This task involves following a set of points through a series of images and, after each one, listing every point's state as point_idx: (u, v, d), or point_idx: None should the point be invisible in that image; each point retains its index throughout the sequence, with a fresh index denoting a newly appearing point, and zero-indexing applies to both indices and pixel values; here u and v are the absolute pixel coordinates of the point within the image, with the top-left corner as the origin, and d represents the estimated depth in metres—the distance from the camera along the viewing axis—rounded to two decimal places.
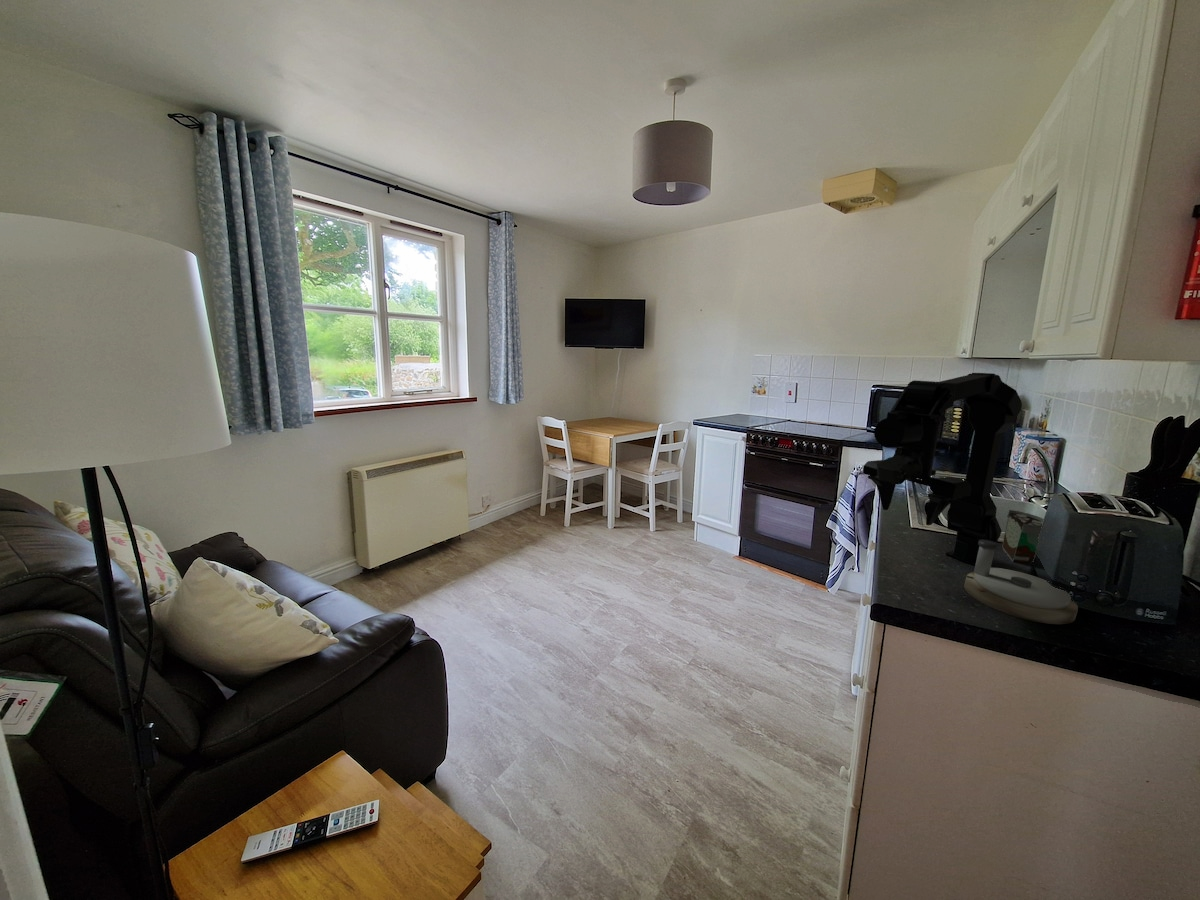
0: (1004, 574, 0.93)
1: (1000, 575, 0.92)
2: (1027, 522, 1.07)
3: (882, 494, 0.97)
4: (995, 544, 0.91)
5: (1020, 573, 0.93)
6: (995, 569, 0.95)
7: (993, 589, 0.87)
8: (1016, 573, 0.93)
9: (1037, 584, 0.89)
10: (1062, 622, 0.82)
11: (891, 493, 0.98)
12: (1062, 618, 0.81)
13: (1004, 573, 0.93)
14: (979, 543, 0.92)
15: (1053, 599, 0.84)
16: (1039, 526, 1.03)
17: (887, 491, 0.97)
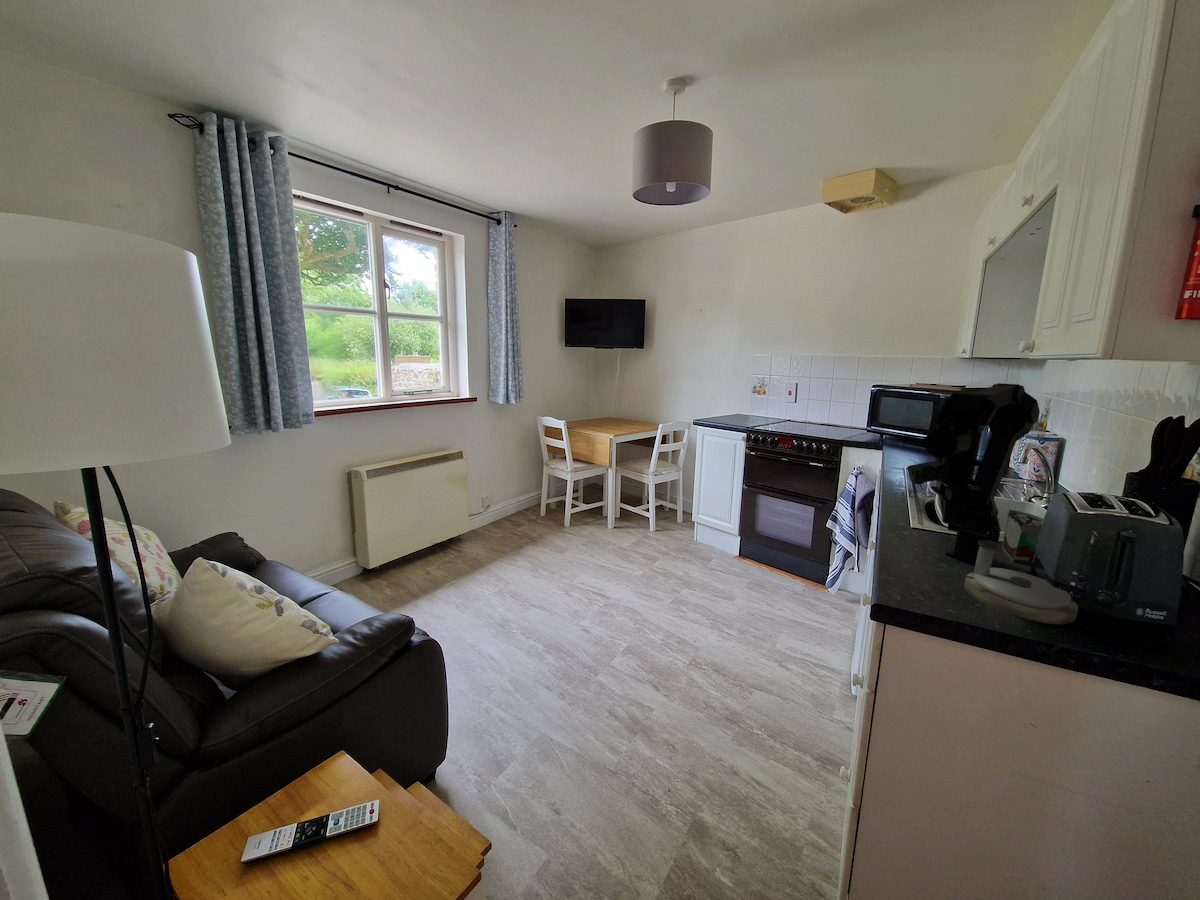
0: (1004, 574, 0.93)
1: (1000, 575, 0.92)
2: (1027, 522, 1.07)
3: (941, 506, 0.97)
4: (995, 544, 0.91)
5: (1020, 573, 0.93)
6: (995, 569, 0.95)
7: (993, 589, 0.87)
8: (1016, 573, 0.93)
9: (1037, 584, 0.89)
10: (1062, 622, 0.82)
11: None
12: (1062, 618, 0.81)
13: (1004, 573, 0.93)
14: (979, 543, 0.92)
15: (1053, 599, 0.84)
16: (1039, 526, 1.03)
17: None
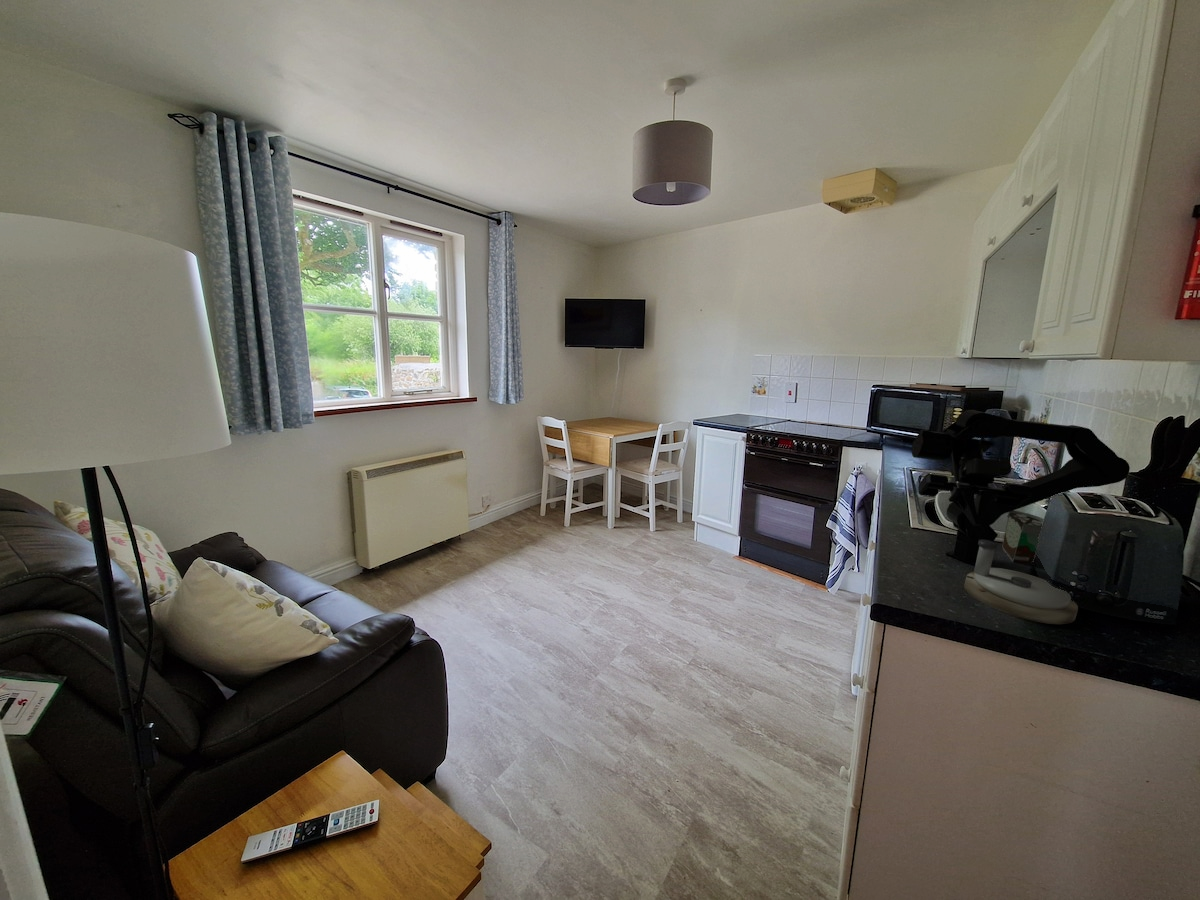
0: (1004, 574, 0.93)
1: (1000, 575, 0.92)
2: (1027, 522, 1.07)
3: (974, 507, 0.96)
4: (995, 544, 0.91)
5: (1020, 573, 0.93)
6: (995, 569, 0.95)
7: (993, 589, 0.87)
8: (1016, 573, 0.93)
9: (1037, 584, 0.89)
10: (1062, 622, 0.82)
11: None
12: (1062, 618, 0.81)
13: (1004, 573, 0.93)
14: (979, 543, 0.92)
15: (1053, 599, 0.84)
16: (1039, 526, 1.03)
17: None
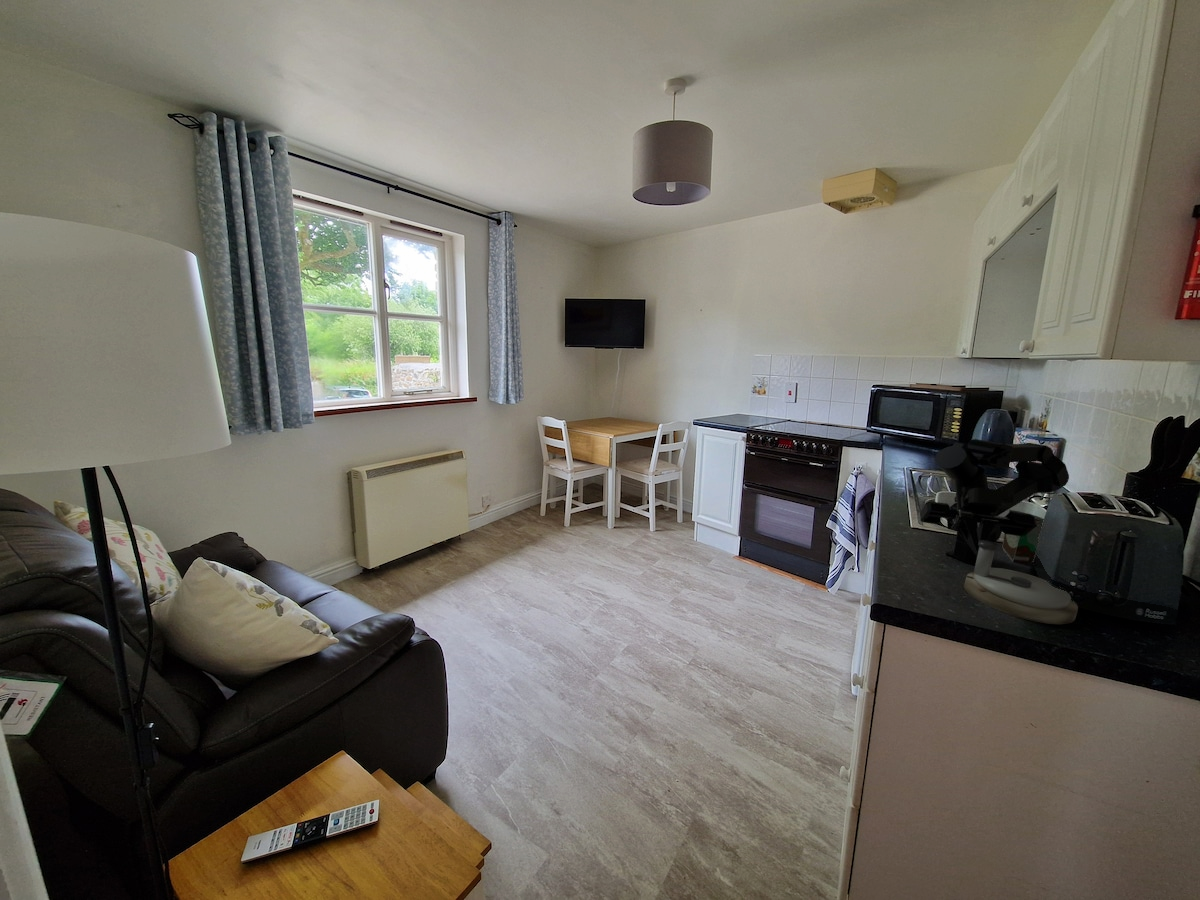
0: (1003, 574, 0.93)
1: (999, 575, 0.92)
2: None
3: (976, 537, 0.94)
4: (995, 544, 0.90)
5: (1017, 572, 0.94)
6: (993, 569, 0.95)
7: (995, 590, 0.87)
8: (1014, 573, 0.94)
9: (1036, 583, 0.89)
10: (1062, 622, 0.82)
11: None
12: (1062, 618, 0.81)
13: (1003, 573, 0.93)
14: (979, 544, 0.91)
15: (1054, 598, 0.84)
16: (1039, 526, 1.03)
17: None
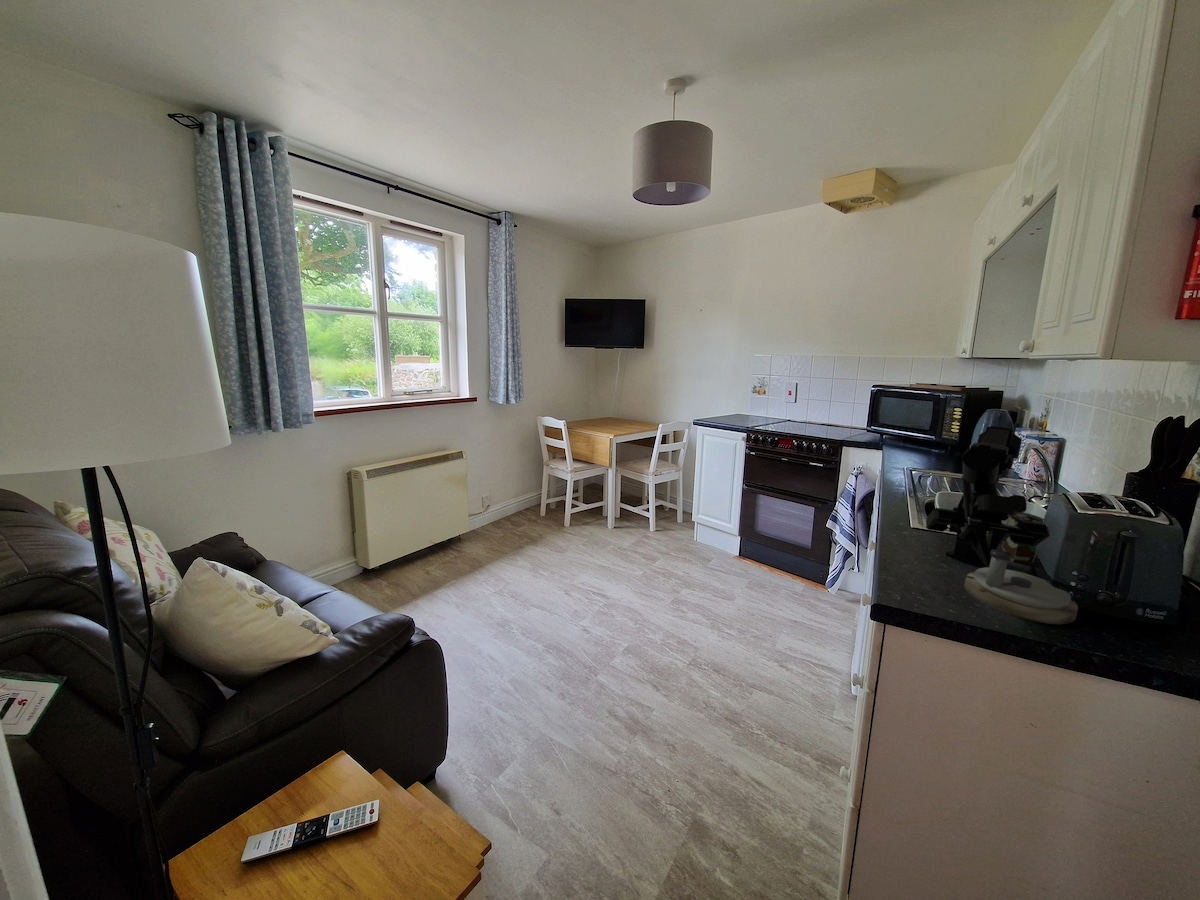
0: None
1: None
2: None
3: (986, 546, 0.90)
4: (1007, 552, 0.87)
5: None
6: (980, 573, 0.93)
7: (1034, 602, 0.83)
8: None
9: (1018, 577, 0.92)
10: (1062, 622, 0.82)
11: None
12: (1062, 618, 0.81)
13: None
14: (998, 556, 0.86)
15: (1059, 591, 0.86)
16: None
17: None
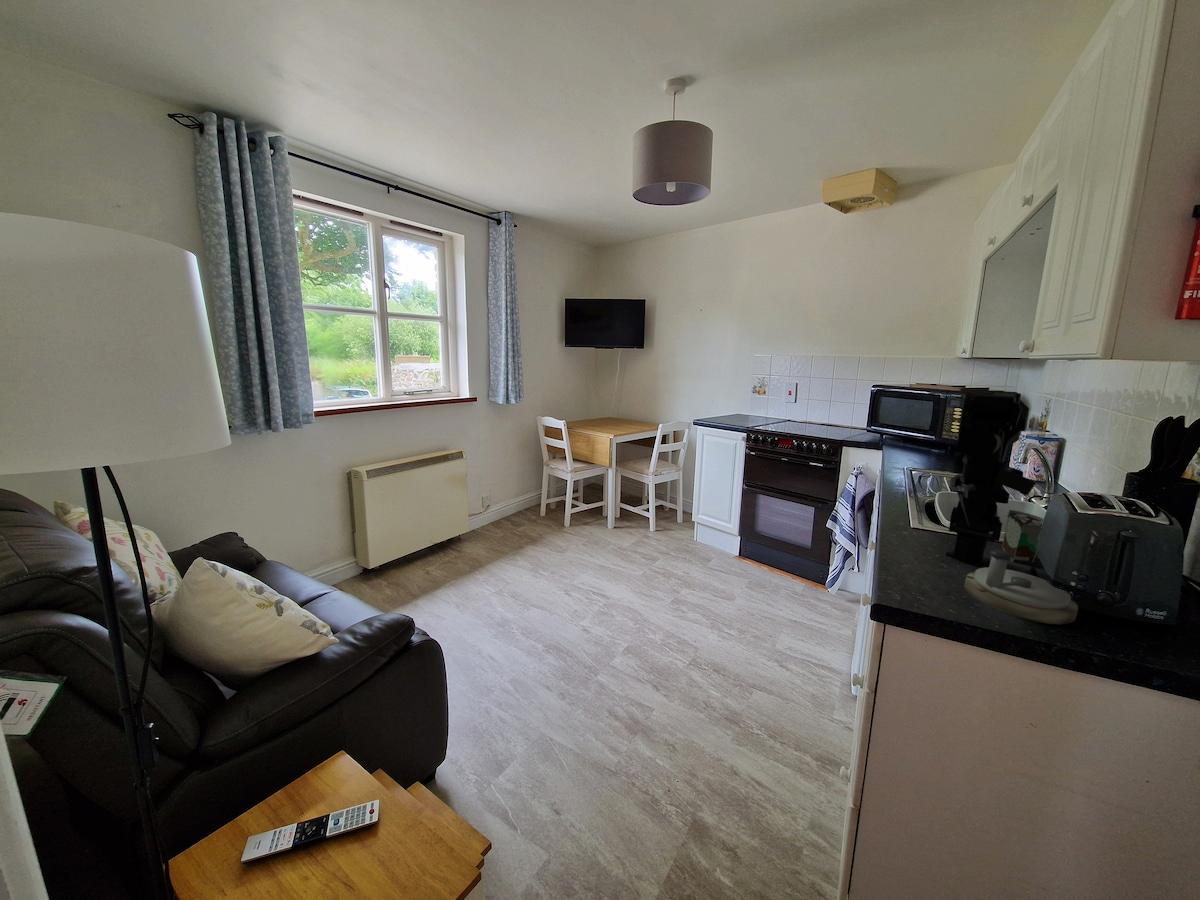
0: None
1: None
2: (1027, 522, 1.07)
3: None
4: (1007, 552, 0.87)
5: None
6: (980, 573, 0.93)
7: (1034, 602, 0.83)
8: None
9: (1018, 577, 0.92)
10: (1062, 622, 0.82)
11: None
12: (1062, 618, 0.81)
13: None
14: (998, 556, 0.86)
15: (1059, 591, 0.86)
16: (1039, 526, 1.03)
17: None
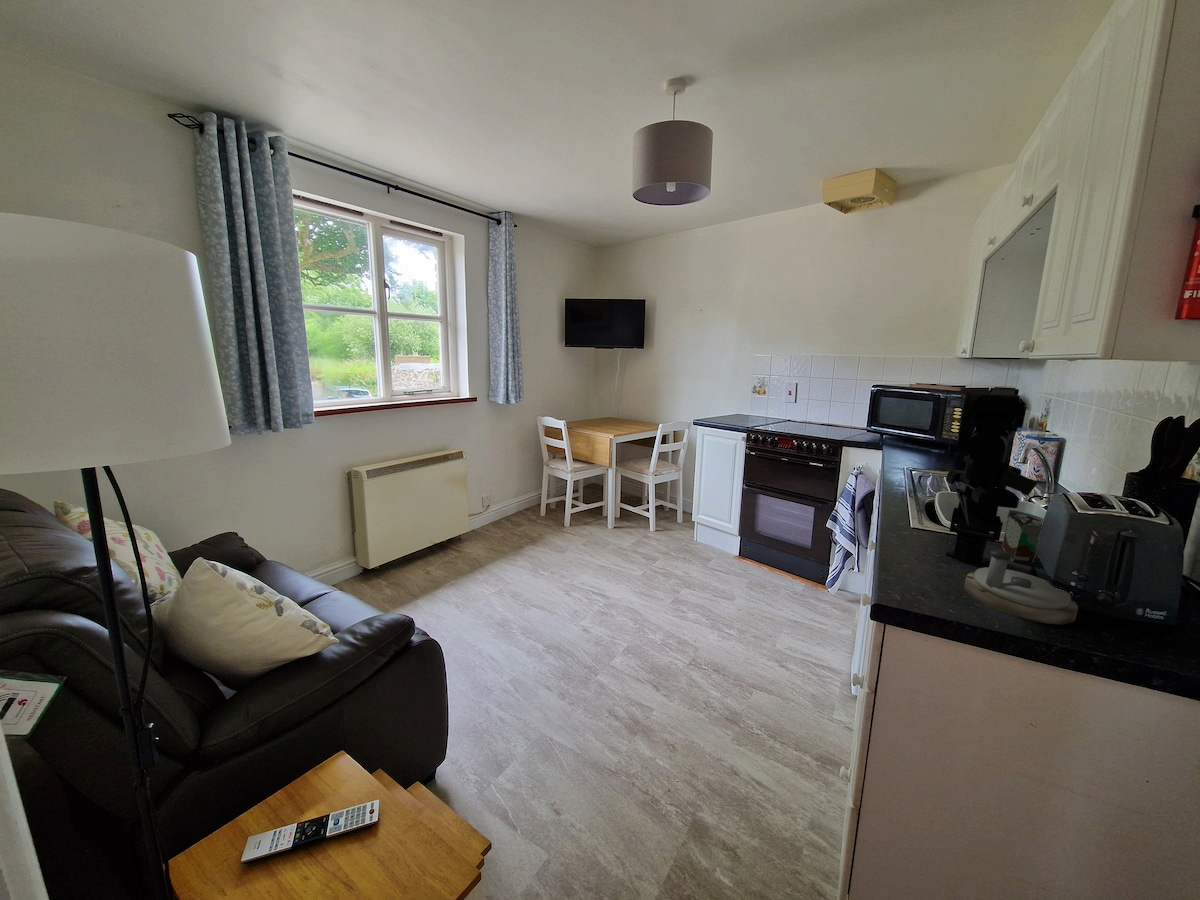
0: None
1: None
2: (1027, 522, 1.07)
3: None
4: (1007, 552, 0.87)
5: None
6: (980, 573, 0.93)
7: (1034, 602, 0.83)
8: None
9: (1018, 577, 0.92)
10: (1062, 622, 0.82)
11: None
12: (1062, 618, 0.81)
13: None
14: (998, 556, 0.86)
15: (1059, 591, 0.86)
16: (1039, 526, 1.03)
17: None
